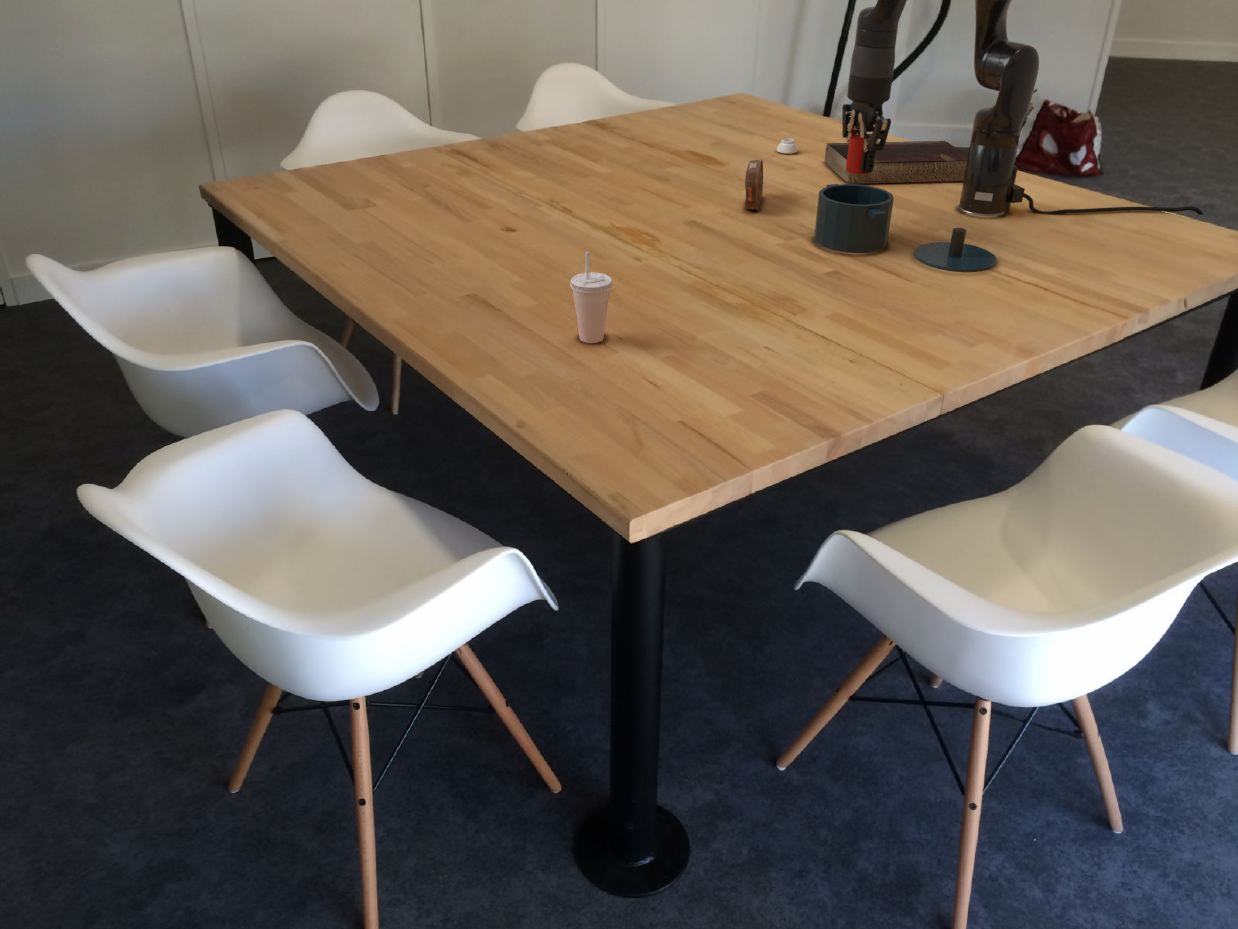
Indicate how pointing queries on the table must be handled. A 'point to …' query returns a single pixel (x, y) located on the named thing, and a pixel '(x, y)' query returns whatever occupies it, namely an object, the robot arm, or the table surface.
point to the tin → (754, 184)
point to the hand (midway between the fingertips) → (859, 167)
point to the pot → (853, 218)
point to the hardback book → (903, 162)
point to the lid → (955, 254)
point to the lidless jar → (787, 146)
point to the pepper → (855, 155)
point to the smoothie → (591, 303)
